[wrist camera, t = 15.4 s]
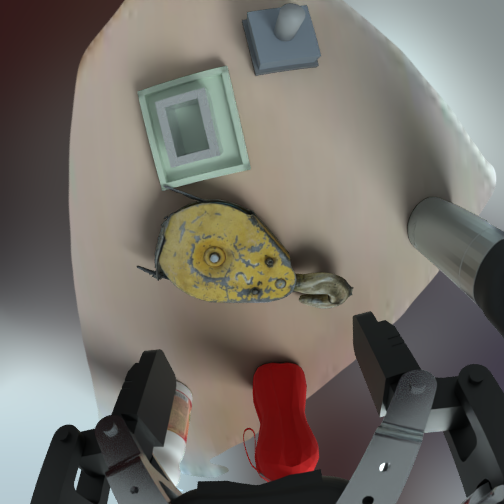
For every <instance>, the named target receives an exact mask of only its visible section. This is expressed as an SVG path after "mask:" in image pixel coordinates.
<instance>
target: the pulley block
mask: <svg viewBox="0 0 504 504" xmlns="http://www.w3.org/2000/svg"><path fill="white" fill-rule="evenodd" d="M164 187H165V188H167V189H170V190H172V191H175V192H178V193H181V194H183V195H185V196H187V197H189V198H191V199H194V200H198V201H196V202H194V203H191V204H188V205H186V206H184V207H183V208H181V209H179V210H178V211H177V212H174V213H172V214H170V216H169V217H168V216H166V217H165V218H167V220H166V221H164V222H163V224H161V226H162V228H161V231H160V234H159V237H158V244H157V245H156V252H155V268H156V271H152V270H149V269H146V268H144V267H141V266H137V268H139V269H141V270H143V271H144V272H147V273H149V275H153V276H152V277H154V278H156V279H157V280H158V281H159V279H160V280H161V279H162V278H165V279H169V280H170V281H171V282H172V283H173V284H174V285H175V286H176V287H177V288H179V289H180V290H182V291H183V292H185V293H186V294H188V295H190V296H193V297H195V298H197V299H201V300H204V301H208V302H222V303H258V302H271V301H275V300H279V299H282V298H285V297H287V296H288V295H289V294H291V292H296V291H297V292H301V293H305V294H306V295H301V296H300V298H299V301H300V302H301V303H303V304H305V305H309V306H313V307H317V308H332V307H335V306H338V305H340V304H342V303H344V302H345V300H346V299H347V298H348V297H349V296H351V295H352V289H353V287H351V286H350V285H349V284H348V283H347V281H346V280H345V279H344V278H342V277H340V276H338V275H335V274H331V273H324V272H319V273H310V274H295V272H294V270H293V269H292V266H291V259H290V256H289V252H288V251H287V250H286V249H285V248H284V246H283V245H282V244H281V243H280V242H279V241H278V239H277V238H276V237H275V236H274V235H273V234H272V233H271V231H270V230H269V229H268V228H267V227H266V226H265V225H264V224H263V223H262V221H261V220H260V219H259V218H258V217H257V216H256V215H255V213H254V212H253V211H252V210H248V209H246V208H244V207H241V206H239V205H237V204H235V203H232V202H228V201H223V200H203V199H201V198H198V197H195V196H193V195H190V194H187V193H185V192H182V191H179V190H176V189H174V188H171V187H169V186H164ZM165 218H164V219H165Z"/></svg>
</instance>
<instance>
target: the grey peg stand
mask: <svg viewBox="0 0 504 504" xmlns="http://www.w3.org/2000/svg"><path fill="white" fill-rule="evenodd" d="M242 23H243V27H244V31H245V35H246V39H247V43H248V46H249V51H250V55H251V59H252V63H253V67H254V71H255V75H256V76H258V75H263V74H269V73H275V72H282V71H289V70H296V69H304V68H313V67H317V66H319V65H318V61H317V59H318V58H319V57H320V56H321V54H320V50H319V46H318V42H317V38H316V35H315V31H314V28H313V24H312V21H311V17H310V14H309V11H308V7H307V5H304V6H299V5H297V4H293V3H289V4H285V5H284V6H282V7H281V8H273V9H265V10H258V11H252V12H247V19H245V20H242Z"/></svg>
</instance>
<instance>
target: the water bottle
mask: <svg viewBox="0 0 504 504" xmlns="http://www.w3.org/2000/svg"><path fill="white" fill-rule="evenodd" d="M306 388H307V385H306V380H305V375H304V372H303V370H302V368H301V367H299V366H298V365H297V364H292V363H282V364H278V363H269V364H264V365H262V366H260V367H259V368H257V370H256V372H255V374H254V377H253V402H254V406H255V409H256V412H257V415H258V418H259V421H260V430H259V437H258V442H257V446H256V454H255V462H256V468H257V469H256V468H255V467H254V466H253V465H252V463H251V462H250V464H251V465H252V467H253V468H255V469H256V470H257V472H258V473H259V475H260V477H261V478H263V479H264V480H266V481H267V482H271V481H273V480H276V479H279V478H282V477H285V476H288V475H291V474H298V473H304V472H309V471H313V470H314V468H315V466H316V464H317V461H318V459H319V451H318V443H317V441H316V439H315V437H314V435H313V433H312V431H311V429H310V427H309V425H308V423H307V421H306V417H305V413H304V411H305V401H306ZM248 429H250V430H252V429H251V428H247V429H245V431H246V430H248ZM245 431H244V433H245ZM252 431H253V430H252ZM253 433H254V431H253ZM254 436H255V433H254ZM243 440H244V434H243ZM244 445H245V444H244ZM245 450H246V447H245ZM246 453H247V452H246ZM247 456H248V454H247ZM248 459H249V457H248ZM249 461H250V459H249Z"/></svg>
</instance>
